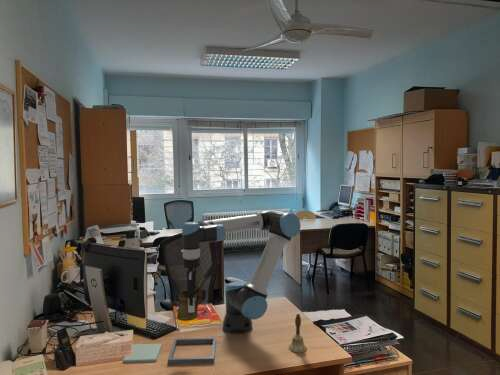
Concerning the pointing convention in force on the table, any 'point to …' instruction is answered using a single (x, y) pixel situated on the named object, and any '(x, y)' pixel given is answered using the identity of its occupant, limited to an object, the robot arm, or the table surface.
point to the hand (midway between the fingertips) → (192, 308)
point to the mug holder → (192, 360)
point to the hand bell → (297, 338)
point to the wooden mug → (183, 303)
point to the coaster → (144, 353)
